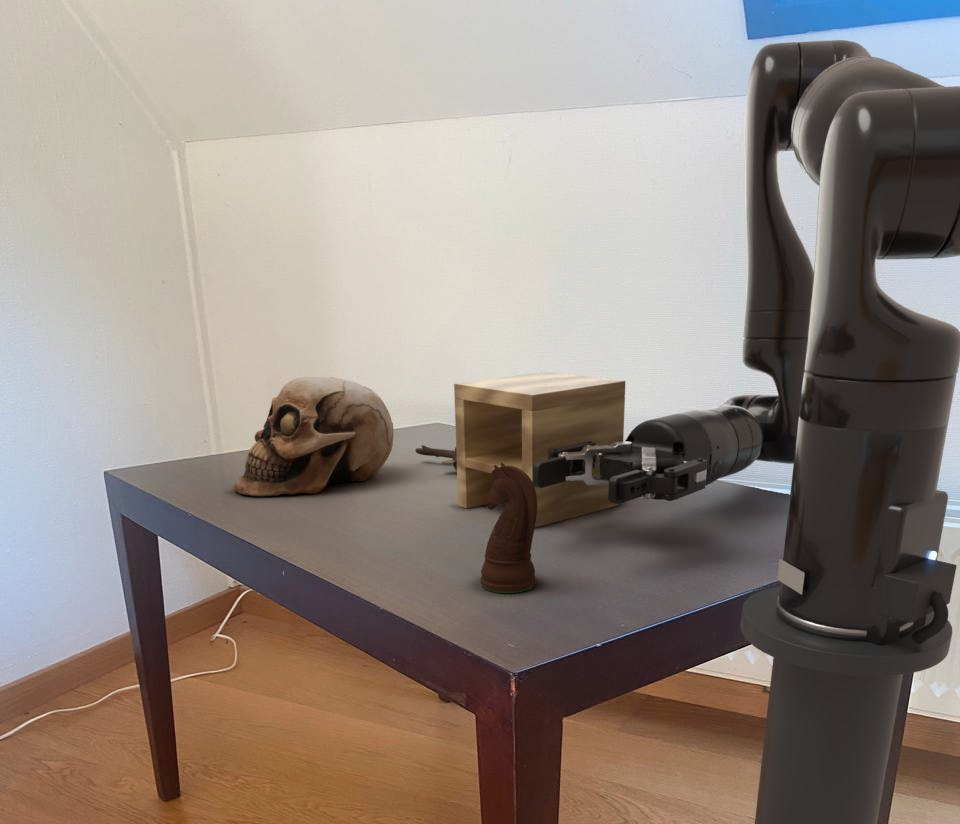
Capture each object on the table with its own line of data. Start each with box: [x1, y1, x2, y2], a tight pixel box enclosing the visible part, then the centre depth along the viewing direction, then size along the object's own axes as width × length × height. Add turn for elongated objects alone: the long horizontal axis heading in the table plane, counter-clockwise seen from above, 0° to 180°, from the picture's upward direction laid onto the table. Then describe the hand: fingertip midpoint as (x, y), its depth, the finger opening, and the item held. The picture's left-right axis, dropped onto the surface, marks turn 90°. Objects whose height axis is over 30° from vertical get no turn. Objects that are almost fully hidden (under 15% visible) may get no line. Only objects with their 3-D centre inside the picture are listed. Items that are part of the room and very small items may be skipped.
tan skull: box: [233, 376, 394, 497], centre depth 110 cm, size 16×17×13 cm
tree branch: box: [415, 444, 457, 472], centre depth 118 cm, size 18×4×14 cm
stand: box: [453, 371, 626, 528], centre depth 97 cm, size 12×13×13 cm
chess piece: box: [480, 463, 537, 594], centre depth 74 cm, size 5×5×10 cm
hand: (572, 483), depth 78 cm, fingers open, 8 cm apart
